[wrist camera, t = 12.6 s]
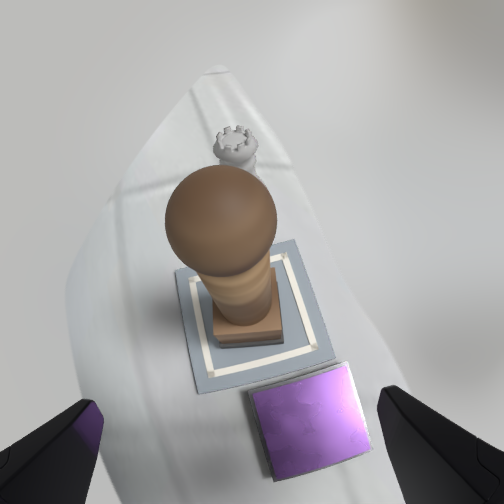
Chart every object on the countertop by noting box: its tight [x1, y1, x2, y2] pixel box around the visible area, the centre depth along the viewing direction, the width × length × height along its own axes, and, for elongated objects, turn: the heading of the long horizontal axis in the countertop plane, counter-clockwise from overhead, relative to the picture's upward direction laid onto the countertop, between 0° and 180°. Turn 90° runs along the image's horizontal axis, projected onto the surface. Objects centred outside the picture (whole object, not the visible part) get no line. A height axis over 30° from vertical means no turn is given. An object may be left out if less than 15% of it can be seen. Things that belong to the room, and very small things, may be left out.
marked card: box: [175, 239, 336, 394], centre depth 21 cm, size 10×10×1 cm
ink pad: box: [248, 361, 373, 482], centre depth 17 cm, size 7×7×2 cm
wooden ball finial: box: [165, 165, 284, 349], centre depth 15 cm, size 4×4×14 cm
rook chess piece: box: [213, 126, 267, 188], centre depth 23 cm, size 4×4×8 cm
